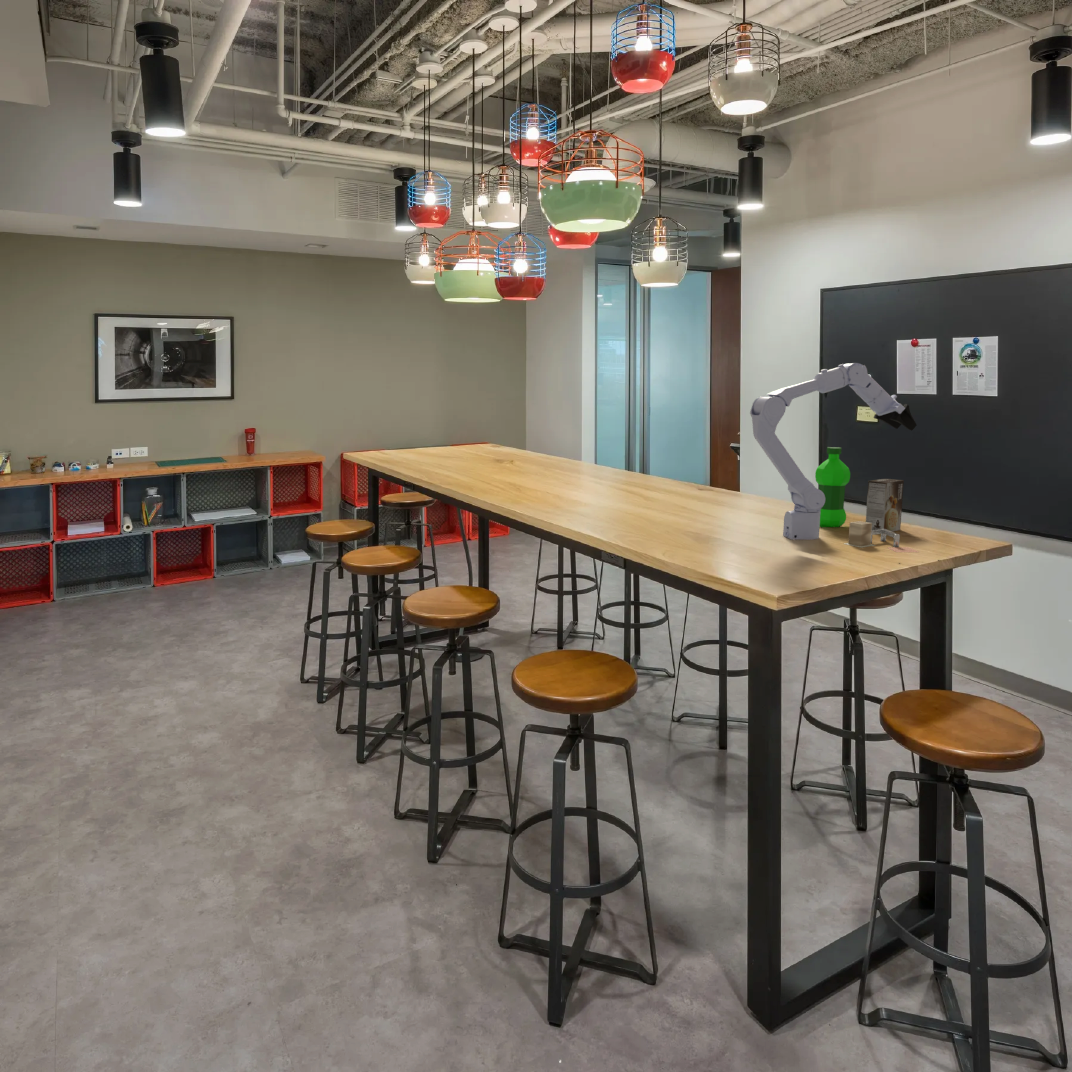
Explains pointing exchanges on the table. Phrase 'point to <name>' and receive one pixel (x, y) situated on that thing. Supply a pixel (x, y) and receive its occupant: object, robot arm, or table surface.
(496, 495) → the table surface
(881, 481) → the coffee box
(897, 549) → the board
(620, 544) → the table surface
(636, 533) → the table surface
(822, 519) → the plastic bottle
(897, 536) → the bent wire
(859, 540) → the birch block
